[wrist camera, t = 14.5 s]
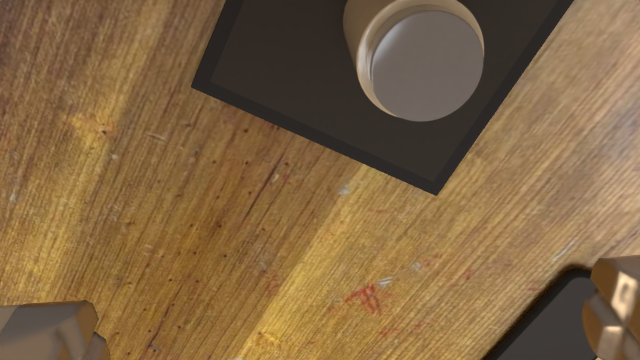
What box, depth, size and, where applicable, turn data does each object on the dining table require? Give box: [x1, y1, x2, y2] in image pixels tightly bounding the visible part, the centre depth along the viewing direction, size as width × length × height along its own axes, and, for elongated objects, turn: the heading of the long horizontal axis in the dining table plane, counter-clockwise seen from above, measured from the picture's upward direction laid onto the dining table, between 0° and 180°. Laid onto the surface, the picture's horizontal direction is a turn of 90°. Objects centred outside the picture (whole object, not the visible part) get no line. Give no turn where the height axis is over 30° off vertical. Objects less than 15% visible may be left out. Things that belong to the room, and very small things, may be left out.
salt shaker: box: [343, 0, 484, 121], centre depth 24 cm, size 5×5×8 cm
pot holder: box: [191, 0, 574, 196], centre depth 28 cm, size 16×16×1 cm
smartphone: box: [485, 269, 597, 360], centre depth 40 cm, size 7×1×15 cm
